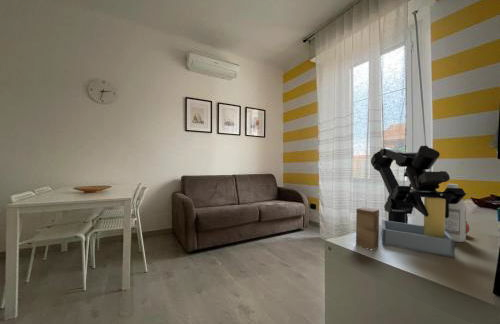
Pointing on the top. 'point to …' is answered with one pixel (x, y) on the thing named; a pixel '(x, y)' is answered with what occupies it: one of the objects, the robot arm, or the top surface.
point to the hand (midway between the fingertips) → (437, 216)
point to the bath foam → (456, 219)
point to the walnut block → (367, 227)
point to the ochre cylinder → (434, 217)
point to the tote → (416, 239)
